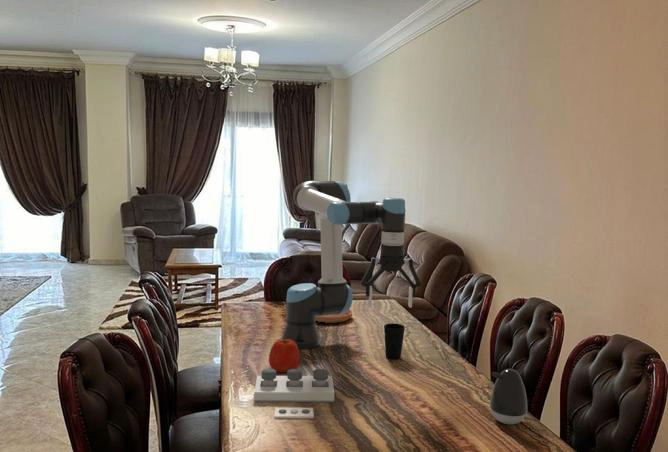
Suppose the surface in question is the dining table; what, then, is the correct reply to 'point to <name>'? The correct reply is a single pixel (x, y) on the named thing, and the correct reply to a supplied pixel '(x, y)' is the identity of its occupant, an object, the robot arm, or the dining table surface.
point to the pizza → (335, 317)
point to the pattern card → (294, 413)
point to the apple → (284, 355)
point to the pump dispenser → (508, 397)
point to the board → (294, 390)
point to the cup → (393, 340)
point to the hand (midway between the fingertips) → (389, 306)
